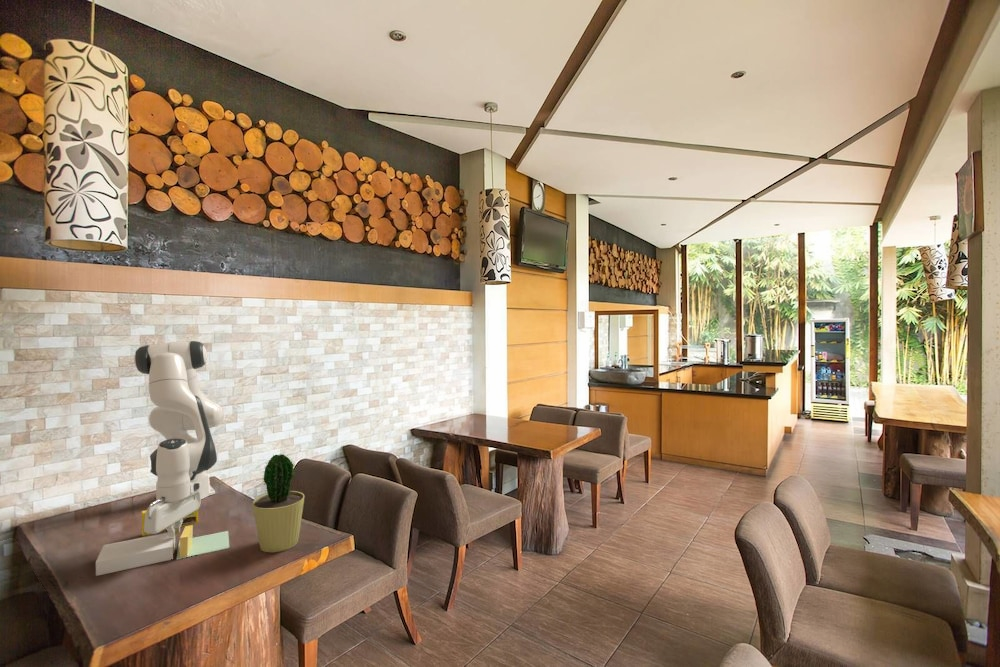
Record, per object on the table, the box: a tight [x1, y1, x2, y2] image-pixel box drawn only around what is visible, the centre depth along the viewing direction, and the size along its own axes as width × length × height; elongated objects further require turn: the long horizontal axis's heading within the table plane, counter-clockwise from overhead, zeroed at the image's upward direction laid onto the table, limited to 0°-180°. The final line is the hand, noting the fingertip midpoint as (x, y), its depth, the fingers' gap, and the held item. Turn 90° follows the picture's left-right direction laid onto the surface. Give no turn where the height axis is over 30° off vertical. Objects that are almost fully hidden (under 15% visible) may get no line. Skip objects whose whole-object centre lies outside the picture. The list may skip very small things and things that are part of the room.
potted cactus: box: [251, 453, 305, 553], centre depth 153 cm, size 15×15×30 cm
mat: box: [175, 530, 230, 561], centre depth 153 cm, size 14×14×1 cm
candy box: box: [141, 509, 199, 537], centre depth 165 cm, size 16×2×8 cm, turn 132°
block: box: [179, 524, 194, 557], centre depth 149 cm, size 9×6×2 cm
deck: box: [95, 532, 176, 577], centre depth 144 cm, size 12×18×4 cm, turn 122°
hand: (174, 535), depth 149 cm, fingers closed
